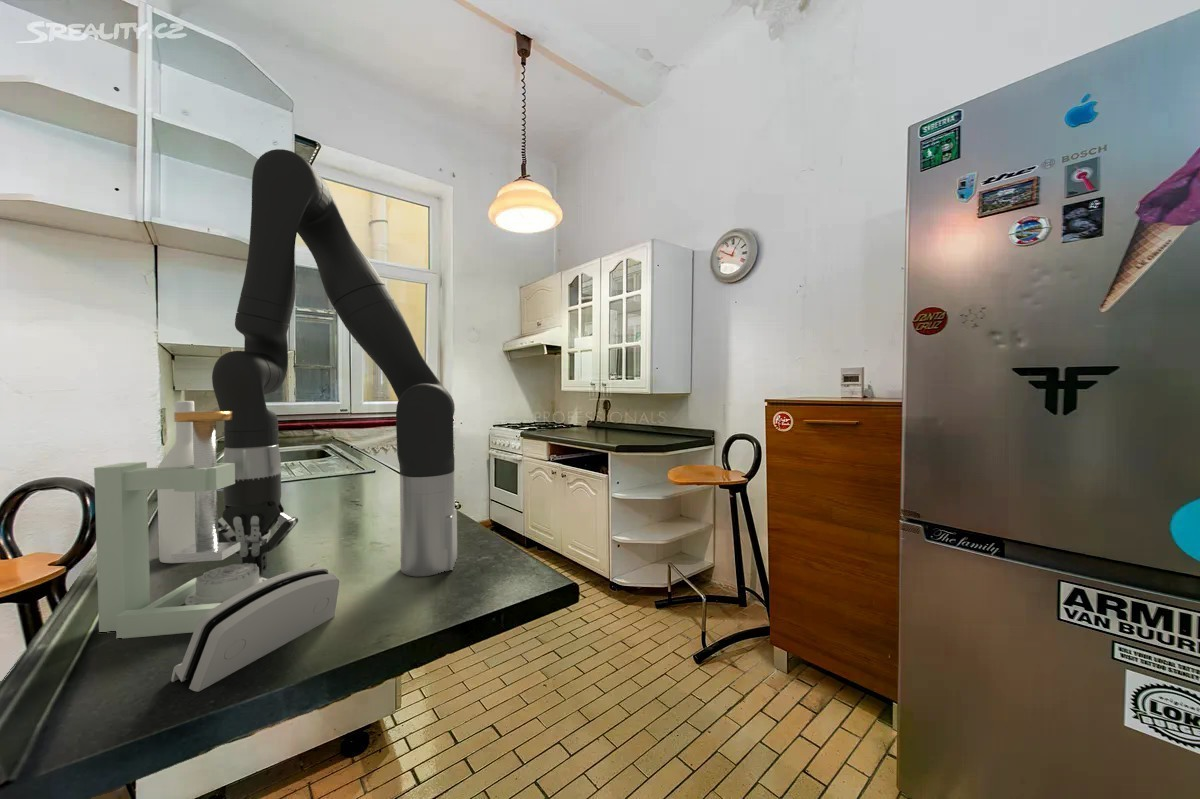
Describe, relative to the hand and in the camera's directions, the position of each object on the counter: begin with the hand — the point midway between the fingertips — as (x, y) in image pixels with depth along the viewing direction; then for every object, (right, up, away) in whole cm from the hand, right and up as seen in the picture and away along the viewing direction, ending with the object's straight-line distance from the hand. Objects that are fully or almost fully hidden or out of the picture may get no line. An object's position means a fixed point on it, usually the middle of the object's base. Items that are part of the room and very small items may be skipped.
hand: (254, 576), depth 73 cm
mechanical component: (0, -2, -5) cm, 5 cm away
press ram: (+2, +7, -11) cm, 13 cm away
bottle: (-22, -1, +12) cm, 26 cm away
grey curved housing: (+16, -2, -18) cm, 24 cm away
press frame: (0, -1, -8) cm, 8 cm away
